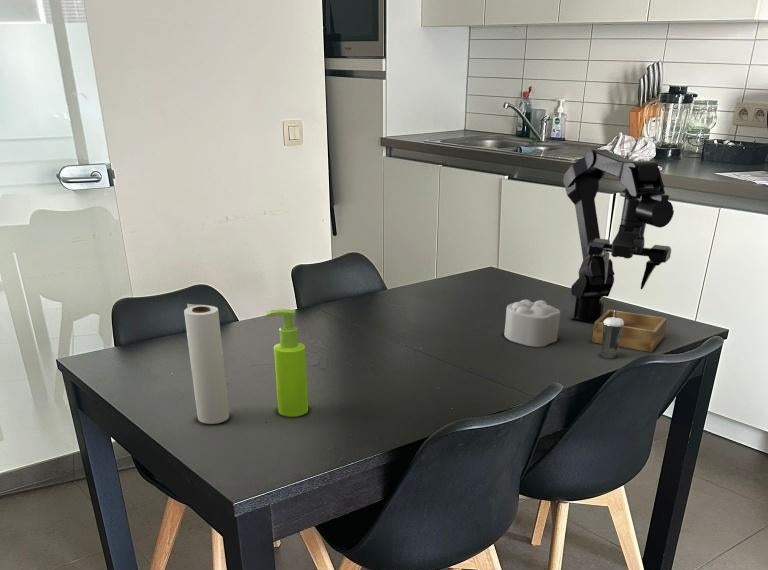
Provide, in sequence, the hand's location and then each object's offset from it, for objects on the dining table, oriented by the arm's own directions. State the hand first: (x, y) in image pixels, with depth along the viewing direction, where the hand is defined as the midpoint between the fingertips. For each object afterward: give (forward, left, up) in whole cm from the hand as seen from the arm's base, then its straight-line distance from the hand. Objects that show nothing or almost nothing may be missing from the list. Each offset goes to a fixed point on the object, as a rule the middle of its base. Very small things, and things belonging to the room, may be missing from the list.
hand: (622, 286), depth 189 cm
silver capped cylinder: (+3, -17, -12) cm, 21 cm away
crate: (+4, -3, -12) cm, 13 cm away
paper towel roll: (-54, -91, -12) cm, 106 cm away
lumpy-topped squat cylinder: (-18, -14, -12) cm, 26 cm away
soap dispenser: (-43, -81, -12) cm, 92 cm away
